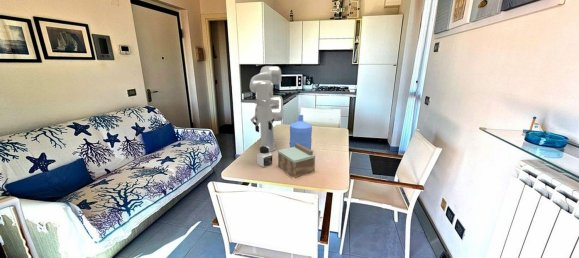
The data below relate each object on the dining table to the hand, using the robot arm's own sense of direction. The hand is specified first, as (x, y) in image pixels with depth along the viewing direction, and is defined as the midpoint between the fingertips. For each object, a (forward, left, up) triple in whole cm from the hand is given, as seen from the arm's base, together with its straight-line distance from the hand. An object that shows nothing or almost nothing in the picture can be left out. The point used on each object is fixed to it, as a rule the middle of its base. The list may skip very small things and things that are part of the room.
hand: (263, 130), depth 147 cm
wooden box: (+16, +13, -23) cm, 31 cm away
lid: (+16, +14, -14) cm, 25 cm away
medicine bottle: (0, 0, -23) cm, 23 cm away
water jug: (-4, +31, -23) cm, 39 cm away
